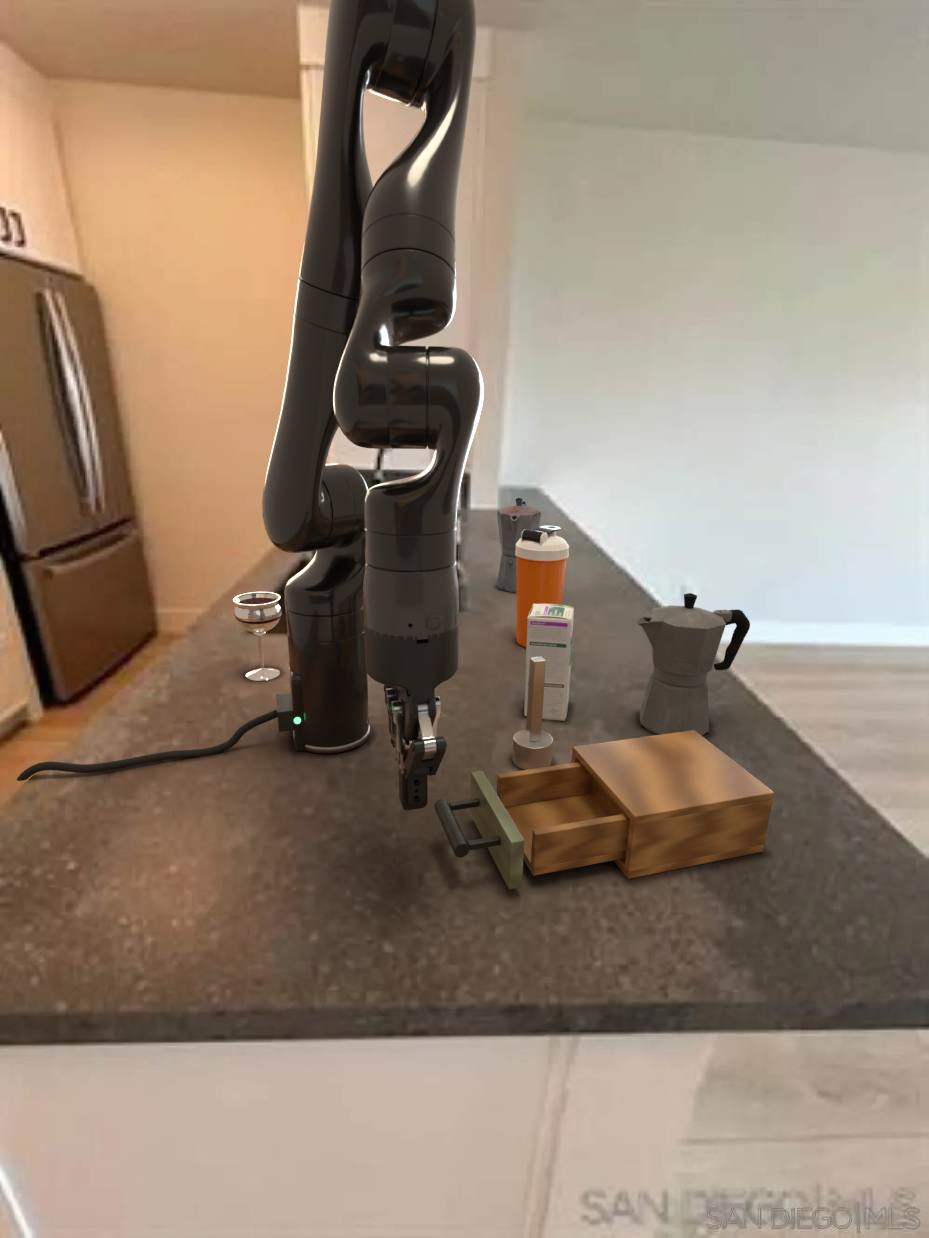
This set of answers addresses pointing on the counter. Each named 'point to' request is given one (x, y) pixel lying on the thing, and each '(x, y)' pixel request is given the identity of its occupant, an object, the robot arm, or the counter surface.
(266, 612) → the wineglass
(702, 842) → the cabinet
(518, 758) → the post on round base
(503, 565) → the moka pot
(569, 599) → the counter surface
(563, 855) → the drawer
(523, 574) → the shaker bottle
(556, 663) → the syrup box
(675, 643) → the coffeepot
